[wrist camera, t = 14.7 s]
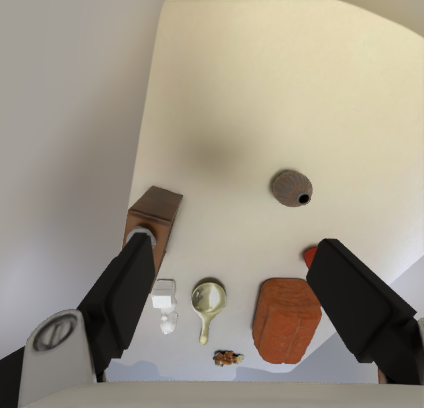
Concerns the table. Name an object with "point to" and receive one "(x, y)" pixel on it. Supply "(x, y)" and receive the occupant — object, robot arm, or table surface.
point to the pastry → (227, 358)
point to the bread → (285, 320)
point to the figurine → (141, 229)
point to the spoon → (208, 305)
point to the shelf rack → (154, 219)
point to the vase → (292, 189)
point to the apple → (309, 256)
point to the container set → (165, 304)
